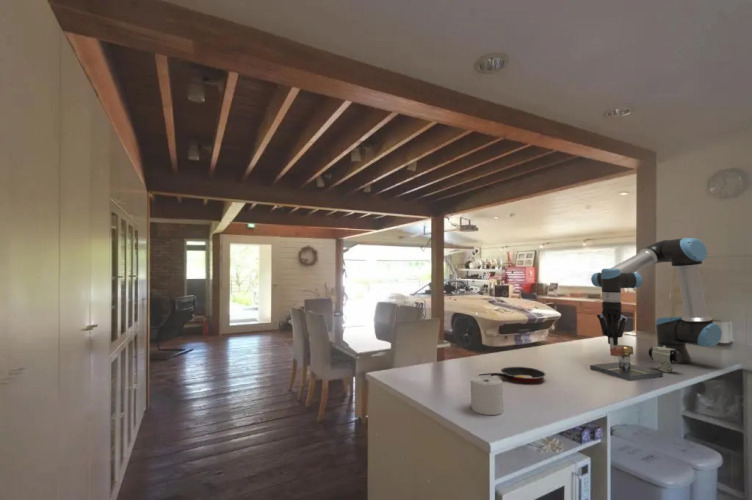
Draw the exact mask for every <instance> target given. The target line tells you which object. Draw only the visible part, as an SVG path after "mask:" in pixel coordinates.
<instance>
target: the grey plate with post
mask: <svg viewBox="0 0 752 500" xmlns="http://www.w3.org/2000/svg"><path fill="white" fill-rule="evenodd" d="M589 369H590V370H591V371H595V372H599V373H602V374H606V375H609V376H612V377H616V378H618V379H623V380H625V381H628V382H629V381H630V382H633V381H639V380H640V379H641V380H649V379H656V378H663V377H664V372H663V371H660V370H655V369H651V368H648V367H642V366H639V365H635V364H631V354H624V355H620V356H618V362H607V363H597V364H590V365H589Z"/></svg>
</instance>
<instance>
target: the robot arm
mask: <svg viewBox="0 0 752 500" xmlns="http://www.w3.org/2000/svg"><path fill="white" fill-rule="evenodd" d="M707 254H708V251H707V247H706V245H705V244H704V242H703V241H701V240H700V239H699V238H694V237H684V238H676V239H675V238H674V239H665V240H660V241H658V242H654V243H652V244H649V245H648V246H646V247H644V248H642V249H640V250H639V251H638V253H637V254H635V255H633V256H631V257H629V258H626V259H625V260H624V261H622V262H620V263H618V264H616V265H614V266H613V267H611V268H602V269H601V271H600V272H595V273H593V274H592V275H591V278H590V280H591V283H592V285H593V286H594V287H597V288H601V300H602V302H601V307H602V308H601V309H602V311H601V313H599V314H597V315H596V317H597V318H598V320H599V324H600V327H601V330H602V335H603V336H606V337H607V344H608V345H609V351H610V349H612V348H615V347H616V345H619V341H618V340H619V338H623V335H624V331H625V326H626V323H627V322H628V320H629V317H625V316H624V315H623V313H622V302H621V301H622V293H621V292H622V289H636V288H640V287H641V286H642V285H643V277H642V276H641V274H640V273H638V271H639V272H640V270H642V269H644V268H646V267H648V266H654V265H656V264H658V263H659V264H660V263H670V264H671V267H673V268H674V269H675V270H676V275H677V280H678V286H679V290H680V296H681V304H682V308H683V313H684V314H683V315H684V316H682V317H681V316H676V317H675V316H669V317H658V318H656V323H655V324H656V325H655V327H656V339H657V340H656V341H657V346H659V347H663V346H665V348H671V349H676V350H678V352H679V353H680V354H681V357H682V359H681V361H680V362H679V363H677V364H678V365H679V364H680V365H681V364H682V365H683V364H685V365H686V364H687V365H688V364H692V357H691V356H690V353H689V350H688V349H687V345H688V344H689V345H693V346H699V347H707V348H712V347H715V346H716V345H718V344H719V343H720V341H721V339H722V335H723V334H722V329H721V327H720V325H719V324H717V323H714V321H713V317H711V316H709V315H708V311H707V305H706V300H705V294H704V290H703V289H704V288H703V283H702V278H701V273H700V267H701V265H703V261H704V260H706V259H707V258H706V257H707ZM610 353H611V351H610Z"/></svg>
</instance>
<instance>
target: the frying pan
mask: <svg viewBox="0 0 752 500" xmlns="http://www.w3.org/2000/svg"><path fill="white" fill-rule="evenodd" d="M500 371H501V372H490V373H481V374H478V376H480V375H490V374H491V377H495V376H497V377H503V378H507V379H508V380H510V381H512V382H515V383H522V384H536V383H539V382H541V381H542V380H543V379H544V378H545V377H546V375H547V373H546V372H545V371H544V370H541V369H538V368H533V367H528V366H506V367H503V368H501V369H500Z"/></svg>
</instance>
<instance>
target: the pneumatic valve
mask: <svg viewBox="0 0 752 500" xmlns="http://www.w3.org/2000/svg"><path fill="white" fill-rule="evenodd" d="M648 356H649V357H650V358H651V360H652V361H657V362H659V363H658V365H657V367H658V371H660V372H663V373H672V372H674V367H673V365H675V364H678V363H679V362H680V361H681V359H682V357H681V354H680V353H679V352H678V350H676V349H671V348H665V346H663V347H659V346H651V347H650V348H649V349H648Z"/></svg>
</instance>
